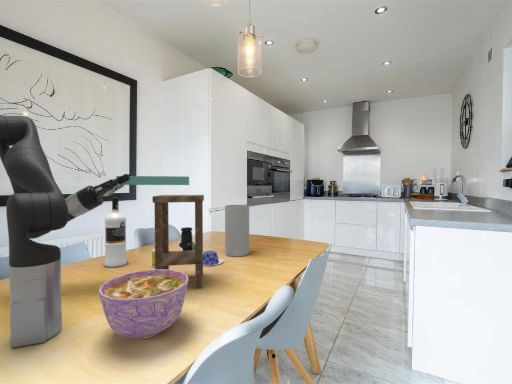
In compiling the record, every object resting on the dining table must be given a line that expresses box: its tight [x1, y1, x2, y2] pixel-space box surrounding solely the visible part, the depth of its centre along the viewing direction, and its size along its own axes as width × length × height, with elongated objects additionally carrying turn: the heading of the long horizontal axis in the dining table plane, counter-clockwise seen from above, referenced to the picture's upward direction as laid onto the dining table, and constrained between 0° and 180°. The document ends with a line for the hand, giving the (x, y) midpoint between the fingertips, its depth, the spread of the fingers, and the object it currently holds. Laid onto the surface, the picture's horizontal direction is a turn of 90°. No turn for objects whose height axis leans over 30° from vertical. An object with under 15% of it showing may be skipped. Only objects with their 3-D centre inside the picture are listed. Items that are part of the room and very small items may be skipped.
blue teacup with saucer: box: [203, 250, 224, 267], centre depth 120 cm, size 12×12×5 cm
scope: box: [178, 226, 195, 251], centre depth 132 cm, size 8×14×10 cm
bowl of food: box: [98, 269, 190, 339], centre depth 64 cm, size 20×20×12 cm
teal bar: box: [115, 175, 190, 186], centre depth 93 cm, size 24×3×3 cm, turn 99°
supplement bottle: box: [151, 243, 155, 268], centre depth 115 cm, size 5×5×10 cm
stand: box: [152, 194, 205, 290], centre depth 95 cm, size 16×16×32 cm
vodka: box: [103, 197, 128, 268], centre depth 116 cm, size 9×9×30 cm
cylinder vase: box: [224, 204, 250, 258], centre depth 135 cm, size 12×12×25 cm
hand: (129, 176), depth 92 cm, fingers closed on teal bar, 3 cm apart
